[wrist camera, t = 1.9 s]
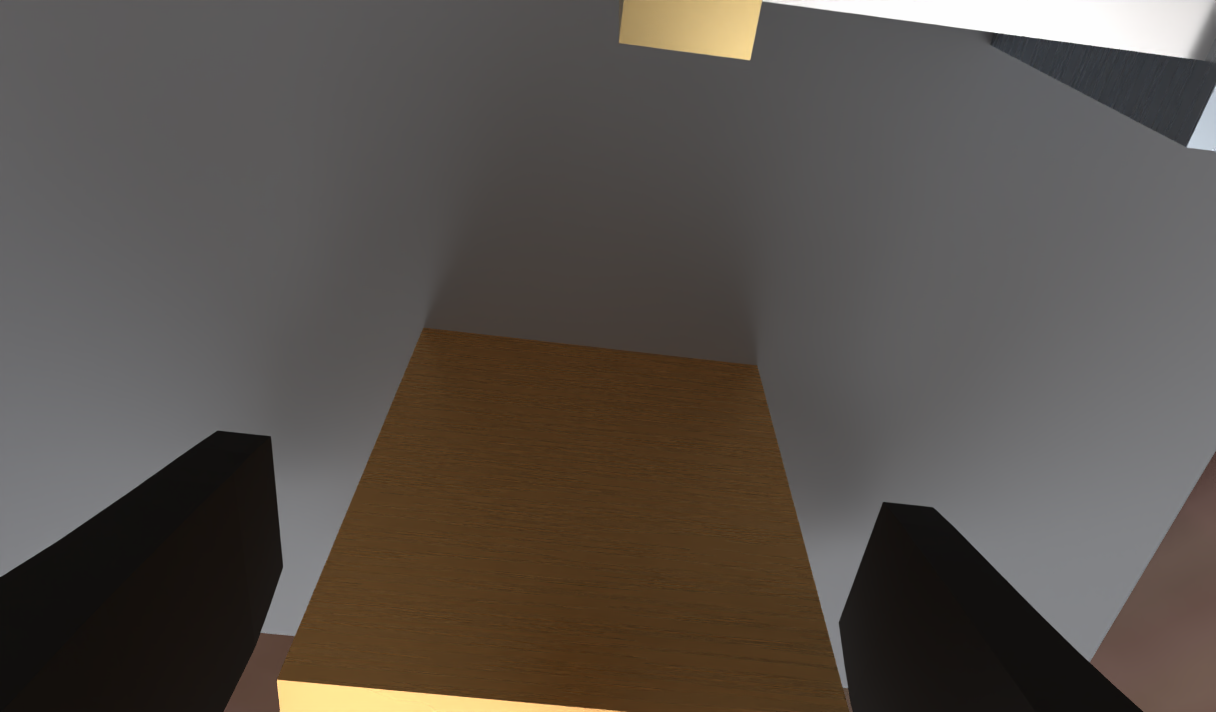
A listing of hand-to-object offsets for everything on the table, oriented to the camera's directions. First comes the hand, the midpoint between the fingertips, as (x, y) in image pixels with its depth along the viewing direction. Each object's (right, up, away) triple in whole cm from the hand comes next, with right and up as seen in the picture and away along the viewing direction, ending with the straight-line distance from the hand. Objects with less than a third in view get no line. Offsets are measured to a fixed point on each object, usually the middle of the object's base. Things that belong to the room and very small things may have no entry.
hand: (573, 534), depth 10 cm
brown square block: (0, 0, +1) cm, 1 cm away
